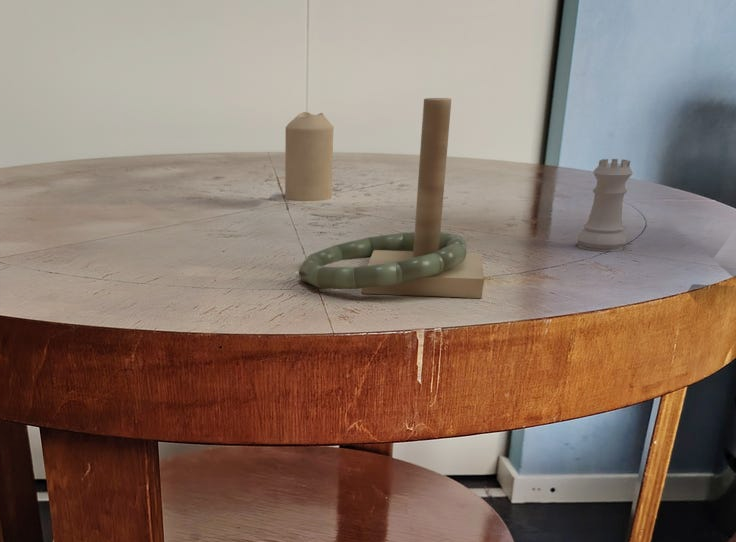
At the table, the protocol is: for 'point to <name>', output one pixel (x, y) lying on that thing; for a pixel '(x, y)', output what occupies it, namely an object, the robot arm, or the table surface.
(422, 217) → the post
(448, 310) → the table surface
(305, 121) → the candle
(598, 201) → the rook chess piece
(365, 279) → the hoop
